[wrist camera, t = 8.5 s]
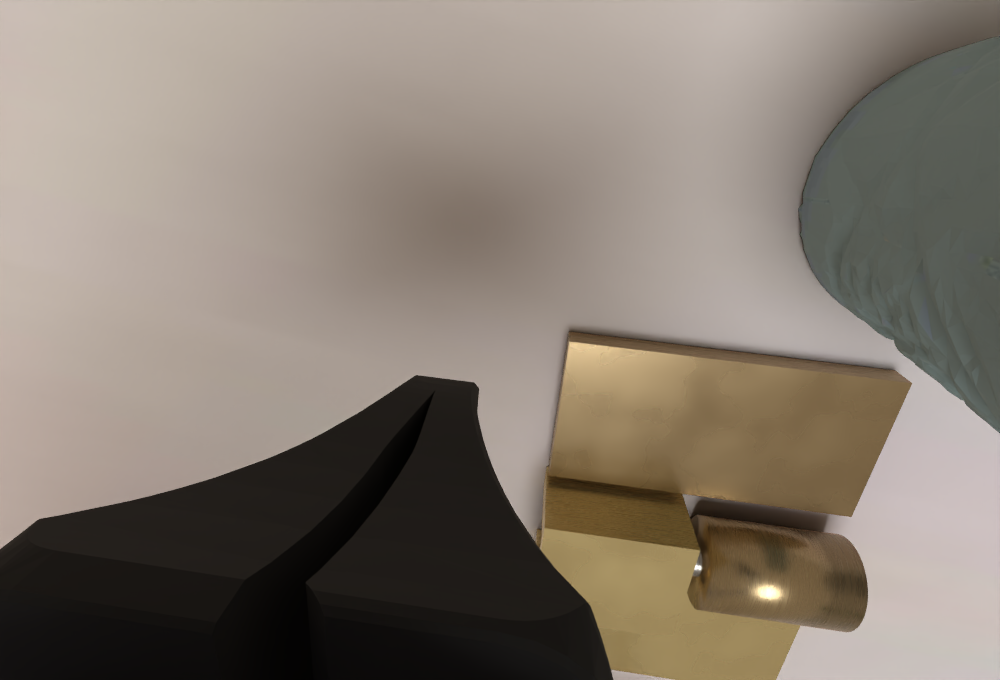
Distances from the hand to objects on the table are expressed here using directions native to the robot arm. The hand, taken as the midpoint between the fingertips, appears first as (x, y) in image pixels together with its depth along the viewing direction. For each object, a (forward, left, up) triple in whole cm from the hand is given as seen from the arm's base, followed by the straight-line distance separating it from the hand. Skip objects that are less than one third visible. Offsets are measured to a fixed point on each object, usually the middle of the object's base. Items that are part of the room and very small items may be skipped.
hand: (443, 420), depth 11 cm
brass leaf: (+9, -13, -9) cm, 18 cm away
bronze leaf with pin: (+9, -7, -9) cm, 15 cm away
